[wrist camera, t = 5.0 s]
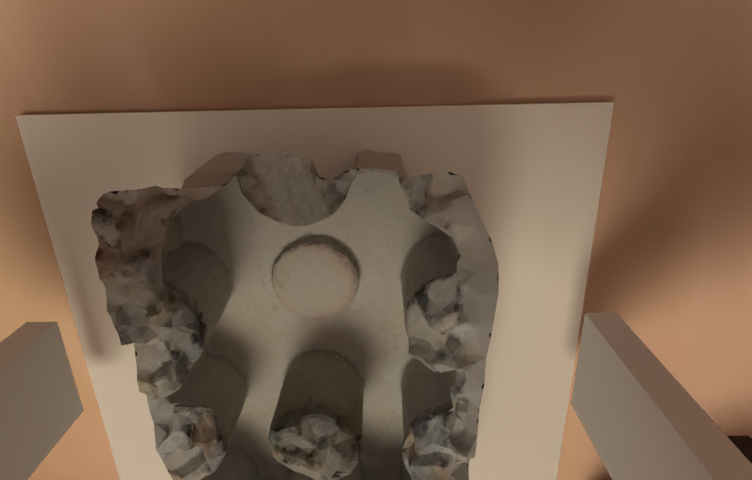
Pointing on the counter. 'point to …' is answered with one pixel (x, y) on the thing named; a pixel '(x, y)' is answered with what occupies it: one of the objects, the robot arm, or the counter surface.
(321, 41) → the counter surface
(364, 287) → the egg carton
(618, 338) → the robot arm
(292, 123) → the tile
